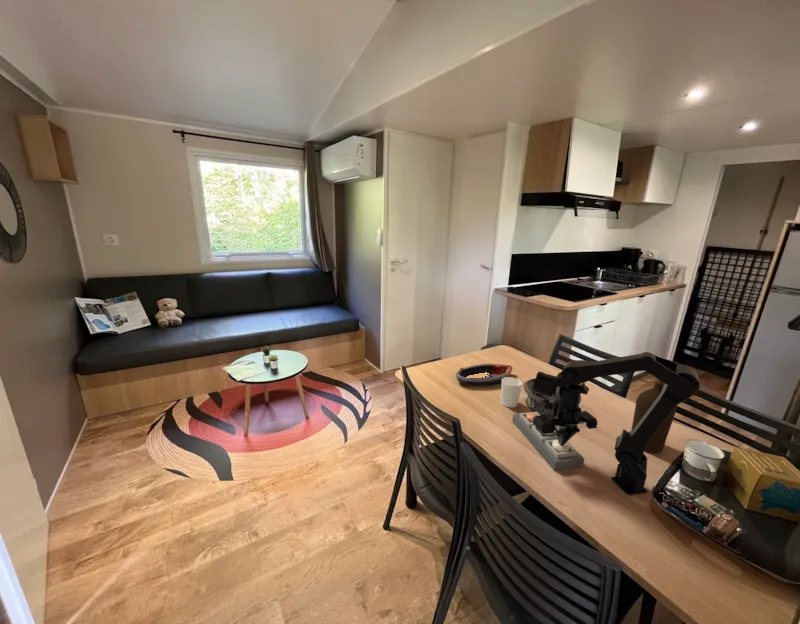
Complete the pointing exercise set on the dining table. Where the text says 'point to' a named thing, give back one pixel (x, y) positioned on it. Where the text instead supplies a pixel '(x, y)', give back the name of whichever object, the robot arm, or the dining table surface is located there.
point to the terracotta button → (531, 416)
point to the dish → (494, 370)
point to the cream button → (560, 447)
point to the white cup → (510, 391)
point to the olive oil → (642, 407)
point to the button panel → (547, 445)
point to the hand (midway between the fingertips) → (561, 444)
